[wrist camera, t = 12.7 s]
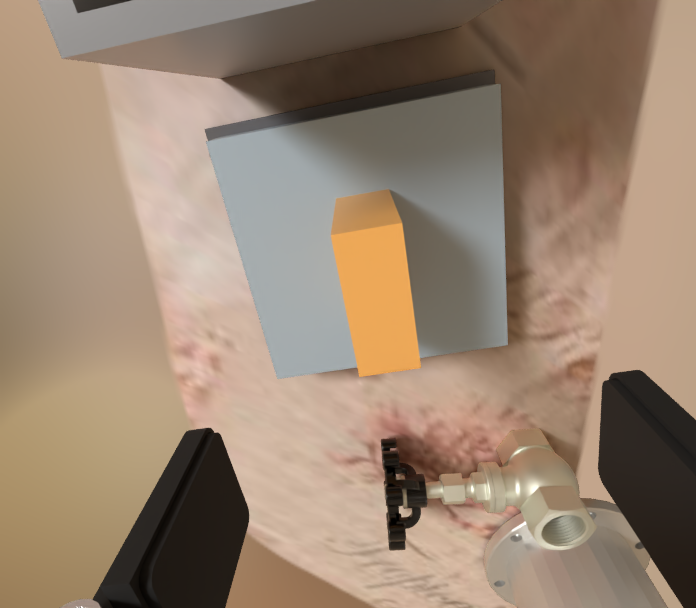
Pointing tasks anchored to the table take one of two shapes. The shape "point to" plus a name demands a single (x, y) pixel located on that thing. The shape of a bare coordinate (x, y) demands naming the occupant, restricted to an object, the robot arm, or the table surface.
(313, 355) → the lid
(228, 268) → the table surface
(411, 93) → the mat
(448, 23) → the tub
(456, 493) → the valve
